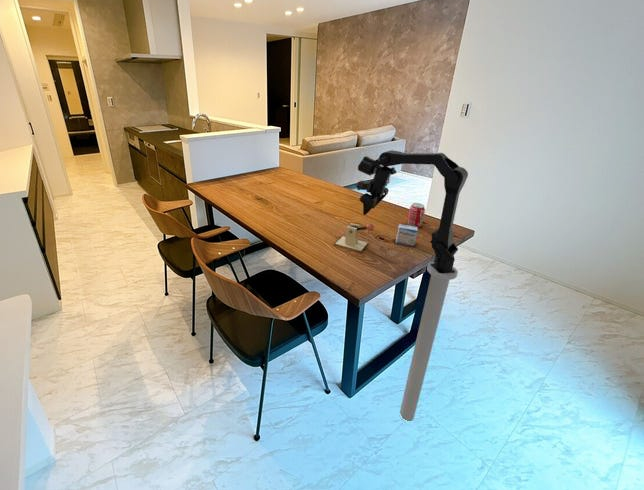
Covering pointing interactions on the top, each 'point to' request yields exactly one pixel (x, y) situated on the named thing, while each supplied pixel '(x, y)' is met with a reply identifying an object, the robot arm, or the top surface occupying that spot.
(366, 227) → the switch lever
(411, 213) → the soda can
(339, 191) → the top surface
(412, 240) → the medicine box
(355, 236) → the switch bracket
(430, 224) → the top surface
